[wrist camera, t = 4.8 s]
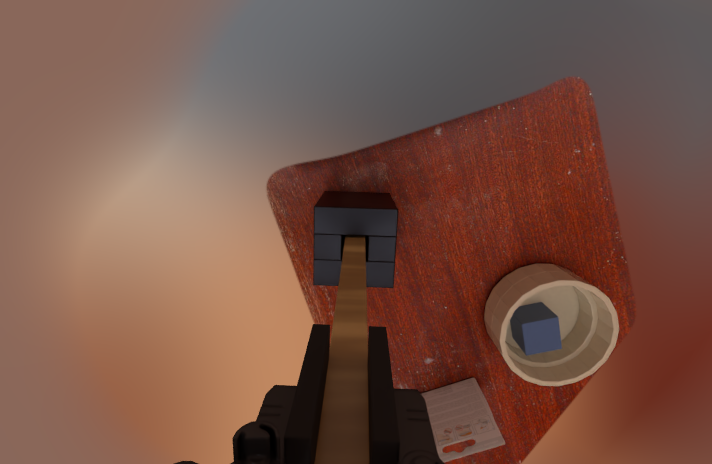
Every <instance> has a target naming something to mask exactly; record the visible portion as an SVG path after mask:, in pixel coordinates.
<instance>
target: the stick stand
mask: <svg viewBox="0 0 712 464" xmlns="http://www.w3.org/2000/svg"><path fill="white" fill-rule="evenodd" d="M397 220H398V209H397V207H396V205H395V203H394V201H393V199H392V197H391V195H390V193H368V192H340V191H325V192H324V193H323V195H322V196H321V197H320V199H319V200H318V202H317V203H316V205H315V206H314V285H327V286H339V279H340V272H341V265H342V257H343V250H344V243H345V236H346V235H363V236H365V250H366V287H382V288H393V286H394V270H395V253H396V236H397Z"/></svg>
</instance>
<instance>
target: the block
mask: <svg viewBox="0 0 712 464" xmlns="http://www.w3.org/2000/svg"><path fill="white" fill-rule="evenodd" d="M510 324H511V331H512V337H513V339H514V340H515V342H516V343H517V344H518V346H519V347H520V348H521V349H522V351H523V352H524V353H525V355H526V356H528V355H533V354H538V353H543V352H548V351H554V350H559V349H562V344H561V335H560V327H559V318H558V316H557V315H556V314H555V313H553V312H552V311H551V310H550V309H549V308H548V307H547V306H546V305H545V304H544V303H542V302H538V303H533V304H528V305H523V306H519V307H518V308H517V309H516V310H515V311H514V313H513V315H512V317H511V319H510Z"/></svg>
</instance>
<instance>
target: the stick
mask: <svg viewBox="0 0 712 464" xmlns="http://www.w3.org/2000/svg"><path fill="white" fill-rule="evenodd" d="M314 464H370V456H369V404H368V335H367V293H366V250H365V236H363V235H346V236H345V243H344V250H343V257H342V265H341V272H340V279H339V286H338V293H337V300H336V307H335V314H334V321H333V328H332V336H331V343H330V350H329V362H328V369H327V376H326V384H325V391H324V398H323V405H322V412H321V420H320V427H319V434H318V441H317V448H316V456H315V463H314Z"/></svg>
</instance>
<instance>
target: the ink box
mask: <svg viewBox="0 0 712 464" xmlns="http://www.w3.org/2000/svg"><path fill="white" fill-rule="evenodd" d="M421 395H422V396H423V397H424V399H425V402H426V406H427V412H428V414H429V419H430V423H431V427H432V431H433V435H434V440H435V444H436V448H437V452H438V455H439V458H440V459H441V460H442V461H443V462H447V461H451V460H453V459H457V458H461V457H464V456H467V455H470V454H474V453H477V452H481V451H484V450H488V449H492V448H495V447H498V446H501V445H504V444H505V441H504V439H503V437H502V435H501V433H500V431H499V429H498V426H497V425H496V422H495V421H494V418H493V415H492V412H491V410H490V408H489V405H488V403H487V401H486V399H485V397H484V395H483V393H482V391H481V389H480V387H479V385H478V383H477V381H476V379H475V378H474V377H473V378H470V379H467V380H463V381H460V382H457V383H454V384H451V385H447V386H444V387H441V388H438V389H434V390H431V391H428V392H425V393H422V394H421ZM469 439H474V440H475V441H476V442H475V444H474V445H473V446H469V447H466V448H465V450H464V451H463V452H461V453H457V452H455V451H452V452H448V453H444V452H443V451H442V449H443V448H444V447H445V446H449V445H452V444H455V443H459V442H462V441H466V440H469Z"/></svg>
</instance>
